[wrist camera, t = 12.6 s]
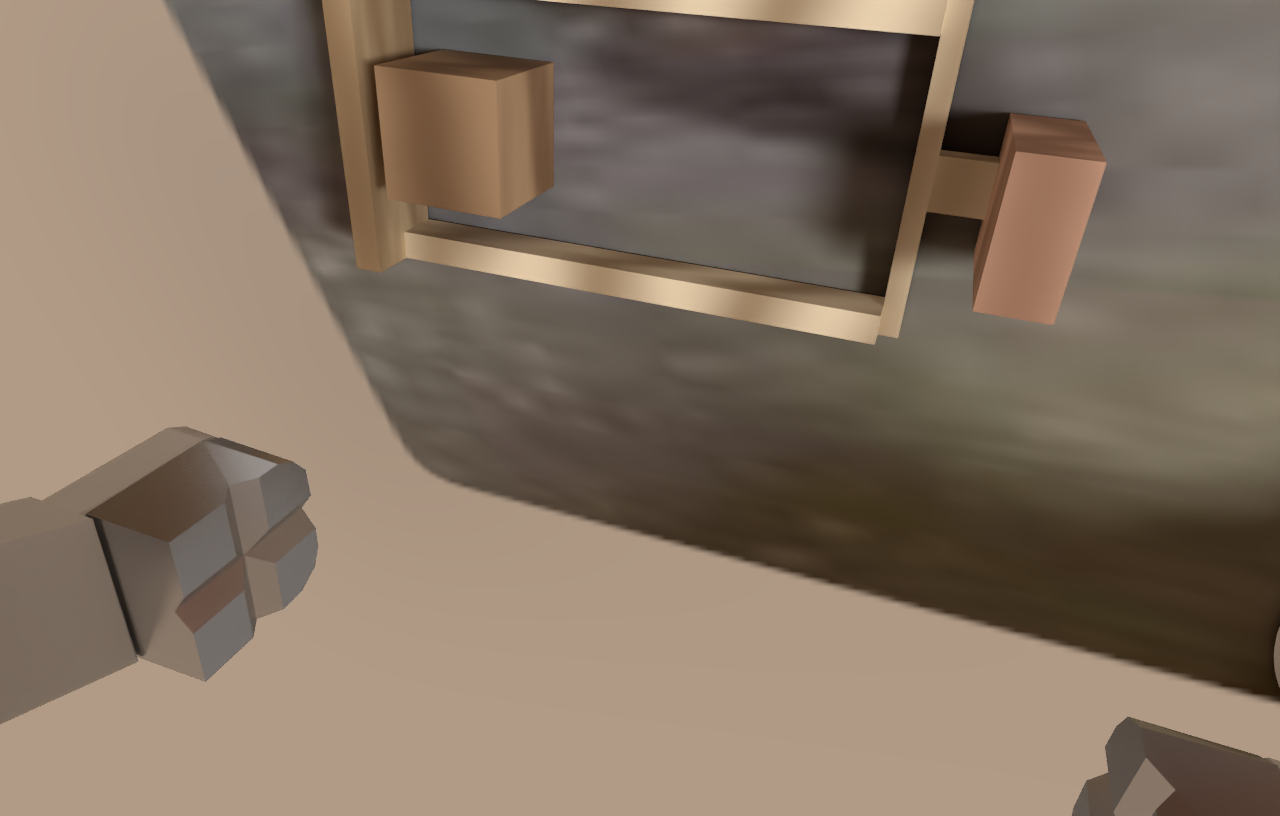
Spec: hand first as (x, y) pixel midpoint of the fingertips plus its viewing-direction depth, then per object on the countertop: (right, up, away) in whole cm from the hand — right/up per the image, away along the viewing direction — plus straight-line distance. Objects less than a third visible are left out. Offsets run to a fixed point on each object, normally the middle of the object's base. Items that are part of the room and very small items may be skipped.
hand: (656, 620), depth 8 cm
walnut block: (-6, +14, +28) cm, 32 cm away
